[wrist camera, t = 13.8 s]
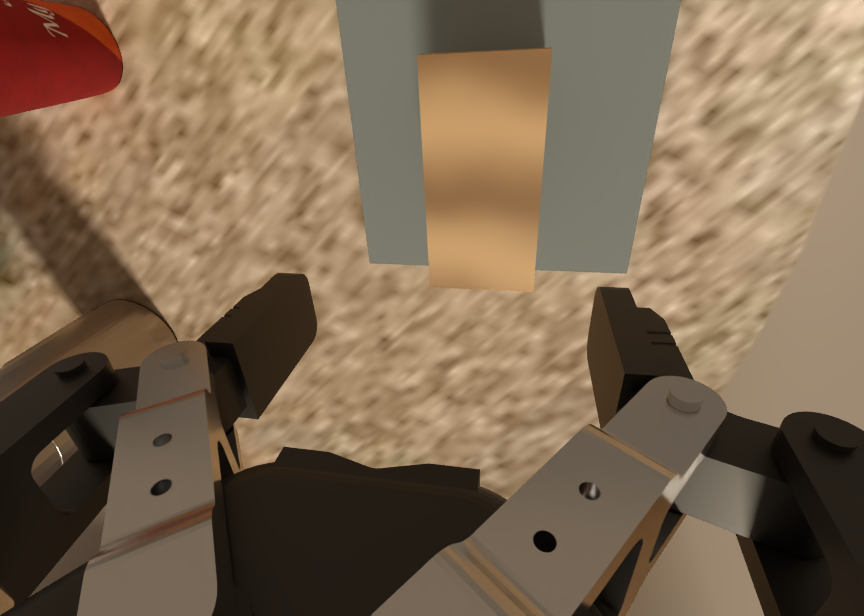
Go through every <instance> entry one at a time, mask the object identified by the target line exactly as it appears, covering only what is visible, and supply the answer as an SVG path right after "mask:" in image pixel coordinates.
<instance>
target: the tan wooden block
mask: <svg viewBox="0 0 864 616" xmlns="http://www.w3.org/2000/svg"><path fill="white" fill-rule="evenodd" d="M551 61H552V48H551V47H548V48H529V49H509V50H489V51H470V52H450V53H430V54H421V55H417V66H418V84H419V102H420V119H421V137H422V155H423V172H424V190H425V208H426V225H427V243H428V261H429V278H430V287H439V288H460V289H482V290H503V291H524V292H533V290H534V277H535V264H536V252H537V239H538V226H539V213H540V201H541V188H542V175H543V162H544V150H545V137H546V124H547V112H548V99H549V86H550V73H551Z"/></svg>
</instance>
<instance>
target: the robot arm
mask: <svg viewBox="0 0 864 616" xmlns="http://www.w3.org/2000/svg"><path fill="white" fill-rule="evenodd" d="M316 331H317V320H316V315H315V310H314V305H313V301H312V296H311V291H310V286H309V282H308V279H307V277H306V276H305V275H304V274H293V273H277V274H275V275H274V276H273V277H272V278H271V279H270V280H269V281H268V282H267V283H266V284H265V285H264V286H263V287H261V288H260V289H258V290H256V291H254V292H252V293H251V294H249V295H247V296H245V297H243V298H242V299H241V300H240V301H239V302H238V303H237V304H236V305H235V306H234V307H233V309H230V310H229V311H228V312H227V313H226V314H225V315H224V317H222V318H221V319H219V320H218V321H217V322H216V323H215V324H214V325H213V326H212V327H211V328H210V329H209V330H207V331H206V332H205V333H204V334H203V335H202V336H201V337H200V338H199V339H198V340H197V341H180V342H177V341H176V339H175V337H174V335H173V333H172V332H171V330H170V329H169V328H168V326H167V325H166V324H165V323H164V322H163V321H162V320H161V319H160V318H159V317H158V316H156V315H155V314H154V313H152V312H151V311H149V310H148V309H146V308H144V307H143V306H140V305H138V304H136V303H133V302H129V301H125V300H114V301H109V302H107V303H105V304H103V305H102V306H100V307H99V308H97V309H95V310H90V311H89V312H87V313H86V314H84V315H82V316H81V317H79V318H78V319H76V320H74V321H73V322H71V323H69V324H68V325H66V326H65V327H63V328H61V329H60V330H58V331H57V332H55V333H53V334H52V335H50V336H49V337H47V338H45V339H44V340H42V341H41V342H39V343H37V344H36V345H34V346H33V347H31V348H29V349H28V350H26V351H25V352H23V353H21V354H20V355H18V356H16V357H15V358H13V359H12V360H10V361H8V362H7V363H5V364H4V365H3V367H2V368H1V369H0V616H626V614H627V612H628V611H629V609H630V607H631V605H632V604H633V602H634V600H635V598H636V596H637V593H638V592H639V589H640V587H641V586H642V584H643V582H644V580H645V578H646V576H647V575H648V573H649V572H650V570H651V569H652V567H653V566H654V564H655V563H656V561H657V560H658V558H659V556H660V555H661V554H662V552H663V550H664V549H665V547H666V546H667V544H668V543H669V541H670V540H671V538H672V537H673V535H674V534H675V532H676V531H677V529H678V527H679V526H680V524H681V523H682V521H683V520H684V518H685V517H686V515H690V516H692V517H695V518H697V519H700V520H702V521H705V522H708V523H710V524H713V525H715V526H718V527H720V528H723V529H726V530H728V531H731V532H733V533H736V536H737V539H738V542H739V545H740V547H741V550H742V553H743V556H744V559H745V562H746V564H747V567H748V570H749V573H750V576H751V579H752V581H753V584H754V587H755V590H756V593H757V596H758V598H759V601H760V604H761V607H762V610H763V612H764V615H765V616H864V431H863V430H861V429H859V428H858V427H856V426H854V425H852V424H850V423H848V422H846V421H843V420H841V419H839V418H835V417H833V416H829V415H825V414H821V413H815V412H796V413H792V414H790V415H788V416H787V417H785V418H784V420H783V421H782V423H781V426H780V428H777V427H774V426H770V425H767V424H763V423H760V422H756V421H753V420H749V419H746V418H742V417H740V416H737V415H734V414H732V413H729V412H727V407H726V404H725V403H724V401H723V399H722V398H721V397H720V396H719V395H718V394H717V393H716V392H715V391H713V390H712V389H711V388H709V387H707V386H706V385H704V384H702V383H700V382H697V381H695V380H694V379H693V377H692V375H691V373H690V371H689V369H688V367H687V365H686V363H685V361H684V359H683V357H682V355H681V353H680V351H679V348H678V346H676V342H675V340H674V338H673V336H672V335H671V332H670V330H669V328H668V326H667V324H666V322H665V320H664V319H663V318H662V317H660V316H659V315H658V314H657V313H655V312H654V311H653V310H652V309H650V308H637V306H636V304H635V302H634V299H633V297H632V294H631V292H630V290H629V288H615V287H597V289H596V292H595V297H594V303H593V309H592V316H591V322H590V328H589V334H588V342H587V359H588V365H589V370H590V375H591V381H592V386H593V391H594V396H595V402H596V407H597V412H598V417H599V423H600V428H601V429H599V428H597V427H595V426H594V425H591V424H589V425H587V426H585V427H583V428H582V429H581V430H580V431H579V432H578V433H577V434H576V435H575V436H574V437H573V438H572V439H571V440H570V441H569V442H568V443H566V444H565V445H564V446H563V447H562V448H561V449H560V450H559V451H558V452H557V453H556V454H555V455H554V456H553V457H552V458H551V459H550V460H549V461H548V462H547V463H546V464H545V465H544V466H543V467H542V468H540V469H539V470H538V471H537V472H536V473H535V474H534V475H533V476H532V477H531V478H530V479H529V480H528V481H527V482H526V483H525V484H524V485H523V486H522V487H521V488H520V489H519V490H518V491H517V492H516V493H515V494H513V495H512V496H511V497H510V498H509V499H508V500H506V499H505V498H503V497H502V496H500V495H498V494H496V493H494V492H492V491H490V490H488V489H486V488H483V487H480V469H471V468H462V467H454V466H445V465H436V464H420V465H410V466H399V467H389V468H378V469H376V468H370V467H367V466H365V465H362V464H359V463H357V462H354V461H351V460H349V459H346V458H343V457H341V456H338V455H336V454H333V453H330V452H324V451H316V450H307V449H298V448H290V447H283V449H282V451H281V452H280V454H279V456H278V457H277V459H276V461H275V462H273V463H267V464H262V465H257V466H254V467H251V468H248V469H245V470H244V467H243V461H242V455H241V450H240V444H239V438H238V432H237V429H236V427H235V424H234V422H235V421H236V420H237V419H238V417H242V418H252V419H259V417H260V416H261V415H262V413H263V412H264V410H265V409H266V408H267V406H268V405H269V403H270V402H271V400H272V399H273V398H274V396H275V395H276V393H277V392H278V390H279V389H280V388H281V386H282V385H283V383H284V382H285V381H286V379H287V378H288V376H289V375H290V373H291V372H292V371H293V369H294V368H295V366H296V365H297V363H298V362H299V361H300V359H301V358H302V356H303V355H304V354H305V352H306V351H307V349H308V348H309V346H310V345H311V344H312V342H313V341H314V338H315V336H316ZM106 504H107V508H106V514H105V521H104V528H103V534H102V542H101V547H100V550H99V552H98V553H97V554H96V555H95V556H93V557H92V558H91V559H90V560H89V561H88V562H87V563H85V564H83V565H81V566H80V567H78V568H77V569H75V570H73V571H72V572H70V573H68V574H67V575H65V576H63V577H62V578H60V579H59V580H57V581H55V582H54V583H52V584H50V585H49V586H47V587H45V588H44V589H42V590H41V591H39V592H37V593H35V594H34V595H32V596H31V597H29V596H30V595H31V594H32V592H33V591H34V590H35V589H36V587H38V585H39V584H40V583H41V582H42V580H43V579H44V578H45V577H46V576H47V575H48V573H49V572H50V571H51V570H52V568H53V567H54V566H55V565H56V564H57V563H58V561H59V560H60V559H61V558H62V557H63V555H64V554H65V553H66V552H67V550H68V549H69V548H70V547H71V545H73V543H74V542H75V541H76V540H77V538H78V537H79V536H80V535H81V534H82V533H83V531H84V530H85V529H86V528H87V527H88V525H89V524H90V523H91V522H92V521H93V519H94V518H95V517H96V516H97V515H98V513H99V512H100V511H101V510H102V509H103V507H104V506H105V505H106ZM28 597H29V598H28Z"/></svg>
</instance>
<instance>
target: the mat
mask: <svg viewBox="0 0 864 616" xmlns="http://www.w3.org/2000/svg"><path fill="white" fill-rule="evenodd" d="M680 3H681V0H336V5H337V13H338V20H339V28H340V36H341V44H342V51H343V59H344V67H345V75H346V82H347V90H348V98H349V106H350V113H351V121H352V129H353V137H354V144H355V152H356V160H357V168H358V175H359V183H360V191H361V199H362V206H363V214H364V222H365V230H366V238H367V245H368V253H369V261H370V263H376V264H401V265H426V266H429V261H428V243H427V225H426V208H425V190H424V172H423V155H422V137H421V119H420V102H419V84H418V66H417V55H421V54H430V53H450V52H470V51H489V50H509V49H529V48H548V47H551V48H552V61H551V73H550V86H549V99H548V112H547V124H546V137H545V150H544V162H543V175H542V188H541V201H540V213H539V226H538V239H537V252H536V264H535V270H550V271H575V272H600V273H625V274H627V270H628V265H629V260H630V255H631V249H632V244H633V239H634V234H635V229H636V224H637V219H638V214H639V209H640V204H641V199H642V194H643V189H644V184H645V179H646V174H647V169H648V164H649V159H650V154H651V149H652V144H653V139H654V134H655V129H656V124H657V119H658V114H659V109H660V104H661V99H662V94H663V89H664V84H665V78H666V73H667V68H668V63H669V58H670V53H671V48H672V43H673V38H674V33H675V28H676V23H677V18H678V13H679V8H680Z"/></svg>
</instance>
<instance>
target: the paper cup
mask: <svg viewBox="0 0 864 616" xmlns="http://www.w3.org/2000/svg"><path fill="white" fill-rule="evenodd" d="M122 73H123V63H122V57H121V53H120V50H119V47H118V45H117V43H116V41H115V39H114V37H113V35H112V34H111V32H110V31H109V29H108V28H107V27H106V26H105V25H104V23H103V22H102V21H101V20H100V19H98V18H97V17H96V16H95V15H93V14H92V13H90V12H89V11H87V10H85V9H82V8H79V7H75V6H71V5H65V4H60V3H54V2H48V1H41V0H0V117H3V116H8V115H12V114H17V113H22V112H26V111H31V110H35V109H40V108H44V107H49V106H53V105H58V104H62V103H67V102H71V101H75V100H80V99H84V98H88V97H92V96H96V95H100V94H104V93H107V92H109V91H112V90H113V89H115V88H116V87H117V86H118V84H119V83H120V80H121V78H122Z"/></svg>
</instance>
